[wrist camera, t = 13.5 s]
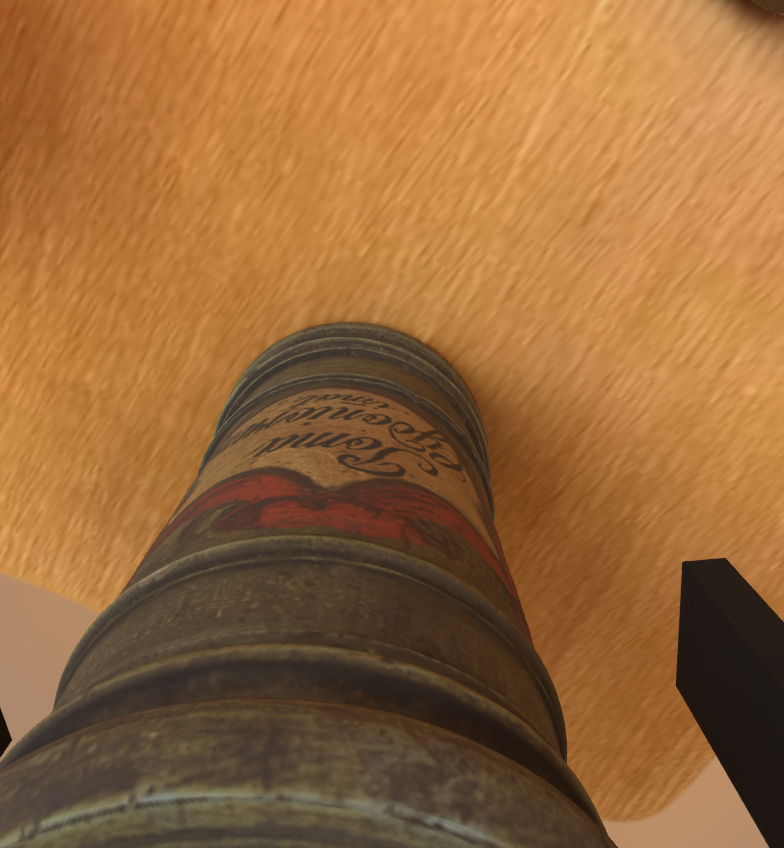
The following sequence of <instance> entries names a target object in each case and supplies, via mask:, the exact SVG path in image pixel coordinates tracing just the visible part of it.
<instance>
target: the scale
mask: <svg viewBox="0 0 784 848" xmlns="http://www.w3.org/2000/svg"><path fill="white" fill-rule="evenodd" d="M749 1H751V2H753V3H754V4H756V5H758V6H760V7H761V8H763V9H765V10H767V11H768V12H770V13H772V14H776V15H777V16H780V15H784V0H749Z"/></svg>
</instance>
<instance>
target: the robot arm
mask: <svg viewBox="0 0 784 848" xmlns="http://www.w3.org/2000/svg"><path fill="white" fill-rule="evenodd" d="M676 687H677V688H678V690H679V692H680V693H681V695H682V697H683V699H684V700H685V702H686V704H687V706H688V707H689V709H690V711H691V713H692V714H693V716H694V718H695V720H696V721H697V723H698V725H699V726H700V728H701V730H702V732H703V733H704V735H705V737H706V739H707V740H708V742H709V744H710V746H711V747H712V749H713V751H714V752H715V754H716V756H717V758H718V759H719V761H720V763H721V765H722V766H723V768H724V770H725V771H726V773H727V775H728V777H729V779H730V780H731V782H732V784H733V785H734V787H735V789H736V791H737V792H738V794H739V796H740V798H741V799H742V801H743V803H744V804H745V806H746V808H747V810H748V811H749V813H750V815H751V817H752V818H753V820H754V822H755V824H756V825H757V827H758V829H759V830H760V832H761V834H762V836H763V837H764V839H765V841H766V843H767V844H768V846H769V848H784V622H783V621H782V620H781V619H780V618H779V617H778V615H777V614H776V613H775V612H774V611H773V610H772V609H771V608H770V607H769V606H768V604H767V603H766V602H765V601H764V600H763V599H762V598H761V597H760V596H759V594H758V593H757V592H756V591H755V590H754V589H753V588H752V587H751V586H750V585H749V583H748V582H747V581H746V580H745V579H744V578H743V577H742V576H741V575H740V574H739V572H738V571H737V570H736V569H735V568H734V567H733V566H732V565H731V564H730V563H729V561H728V560H727V559H726V558H719V559H707V560H696V561H684V562H682V580H681V599H680V617H679V636H678V655H677V673H676ZM11 741H12V739H11V736H10V733H9V731H8V728H7V725H6V722H5V720H4V717H3V714H2V711H1V708H0V757H1V756H2V754H3V753H4V751H5V750H6V748H7V747H8V745H9V744H10V742H11Z"/></svg>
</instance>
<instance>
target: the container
mask: <svg viewBox="0 0 784 848" xmlns="http://www.w3.org/2000/svg"><path fill="white" fill-rule="evenodd" d="M490 483H491V471H490V458H489V451H488V442H487V436H486V431H485V426H484V422H483V419H482V416H481V413H480V410H479V408H478V406H477V404H476V401H475V399H474V398H473V396H472V394H471V392H470V390H469V388H468V387H467V385H466V384H465V382H464V381H463V379H462V378H461V377H460V376H459V374H458V373H457V372H456V371H455V370H454V369H453V368H452V366H451V365H450V364H449V363H448V362H446V361H445V360H444V359H443V358H442V357H441V356H440V355H439V354H438V353H436V352H435V351H434V350H432V349H431V348H429V347H428V346H426V345H425V344H423V343H422V342H420V341H418V340H416V339H415V338H413V337H411V336H409V335H406V334H404V333H401V332H399V331H396V330H393V329H390V328H386V327H383V326H378V325H373V324H365V323H353V322H343V323H331V324H325V325H319V326H315V327H311V328H308V329H305V330H302V331H299V332H297V333H294V334H292V335H290V336H288V337H286V338H284V339H282V340H280V341H279V342H277V343H275V344H274V345H272V346H271V347H270V348H268V349H267V350H266V351H264V352H263V353H262V354H261V355H260V356H259V357H257V358H256V359H255V360H254V361H253V362H252V363H251V364H250V366H249V367H248V368H247V369H246V370H245V372H244V373H243V374H242V376H241V377H240V379H239V380H238V382H237V383H236V385H235V387H234V389H233V390H232V392H231V394H230V397H229V399H228V401H227V403H226V404H225V406H224V408H223V410H222V412H221V415H220V417H219V419H218V422H217V425H216V428H215V432H214V436H213V440H212V441H211V443H210V445H209V447H208V449H207V451H206V453H205V455H204V457H203V460H202V462H201V466H200V469H199V472H198V476H197V477H196V479H195V480H194V482H193V483H192V484H191V486H190V487H189V489H188V490H187V492H186V494H185V495H184V497H183V499H182V500H181V502H180V504H179V505H178V507H177V509H176V510H175V512H174V513H173V515H172V516H171V518H170V519H169V521H168V522H167V524H166V525H165V527H164V528H163V529H162V531H161V532H160V534H159V535H158V537H157V538H156V540H155V541H154V543H153V544H152V546H151V547H150V548H149V550H148V552H147V553H146V555H145V557H144V558H143V560H142V562H141V563H140V565H139V566H138V568H137V569H136V571H135V572H134V574H133V575H132V577H131V578H130V580H129V581H128V583H127V585H126V586H125V588H124V590H123V591H122V592H121V594H120V595H119V597H118V598H117V599H116V600H115V601H114V602H112V603H111V604H110V605H109V606H108V607H107V608H106V609H105V610H104V611H103V612H102V613H101V614H100V615H99V617H98V618H97V619H96V620H95V621H94V622H93V624H92V625H91V626H90V627H89V628H88V630H87V631H86V633H85V634H84V635H83V637H82V638H81V640H80V641H79V643H78V644H77V646H76V647H75V649H74V651H73V652H72V654H71V656H70V658H69V660H68V663H67V665H66V667H65V669H64V672H63V674H62V676H61V679H60V682H59V686H58V689H57V693H56V698H55V702H54V708H53V711H52V712H51V714H50V715H49V716H47V717H46V718H45V719H43V720H42V721H41V722H40V723H38V724H37V725H36V726H35V727H34V728H33V729H31V730H30V731H29V732H28V733H27V734H26V735H25V736H24V737H23V738H22V739H21V740H20V741H19V742H18V743H17V744H16V745H15V746H14V747H13V748H12V749H11V750H10V751H9V752H8V754H7V755H6V756H5V757H4V758H3V760H2V761H1V762H0V848H618V847H617V846H616V845H615V844H614V842H613V841H612V840H611V839H610V838H609V836H608V834H607V832H606V829H605V827H604V825H603V823H602V821H601V819H600V817H599V814H598V812H597V810H596V808H595V806H594V804H593V803H592V801H591V799H590V797H589V796H588V794H587V792H586V791H585V789H584V787H583V786H582V784H581V783H580V781H579V780H578V778H577V777H576V775H575V774H574V773H573V771H572V770H571V769H570V768H569V766H568V765H567V739H566V730H565V722H564V718H563V713H562V709H561V705H560V702H559V699H558V695H557V692H556V689H555V687H554V684H553V682H552V680H551V678H550V676H549V673H548V671H547V669H546V667H545V666H544V664H543V662H542V660H541V659H540V657H539V655H538V654H537V652H536V650H535V649H534V646H533V642H532V638H531V633H530V630H529V627H528V624H527V621H526V618H525V615H524V612H523V609H522V606H521V603H520V600H519V596H518V593H517V590H516V587H515V584H514V581H513V579H512V576H511V573H510V571H509V568H508V565H507V563H506V560H505V557H504V553H503V549H502V546H501V542H500V539H499V536H498V533H497V530H496V527H495V524H494V523H495V510H494V500H493V494H492V489H491V485H490Z"/></svg>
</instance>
